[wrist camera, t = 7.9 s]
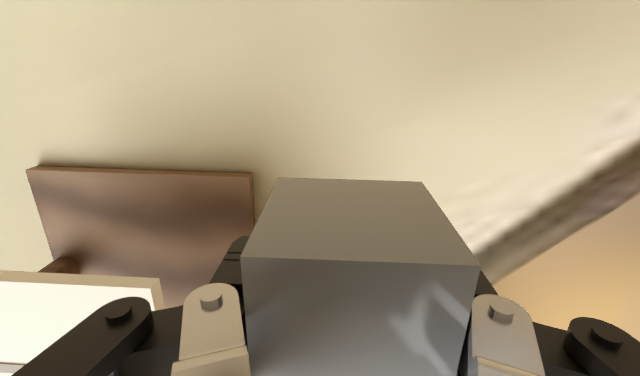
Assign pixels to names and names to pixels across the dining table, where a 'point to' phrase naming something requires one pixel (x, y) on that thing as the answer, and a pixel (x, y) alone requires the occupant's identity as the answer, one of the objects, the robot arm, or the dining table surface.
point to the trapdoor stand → (142, 222)
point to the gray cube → (355, 281)
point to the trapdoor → (56, 308)
